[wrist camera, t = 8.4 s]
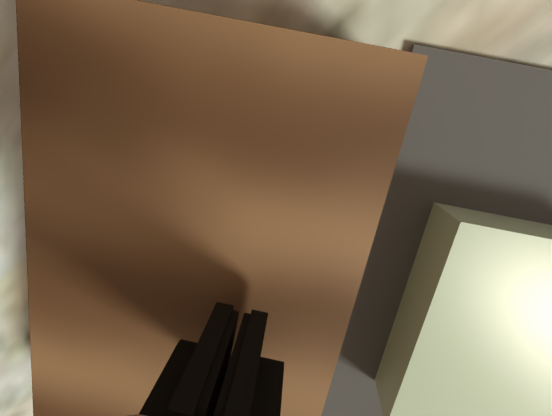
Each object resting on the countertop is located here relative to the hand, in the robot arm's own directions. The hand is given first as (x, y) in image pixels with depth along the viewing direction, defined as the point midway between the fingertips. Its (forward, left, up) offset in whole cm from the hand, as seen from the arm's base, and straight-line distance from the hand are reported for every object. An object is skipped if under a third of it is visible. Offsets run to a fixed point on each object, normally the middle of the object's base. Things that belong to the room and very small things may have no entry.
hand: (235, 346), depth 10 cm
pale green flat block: (0, -9, -3) cm, 10 cm away
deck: (0, +2, -5) cm, 5 cm away
